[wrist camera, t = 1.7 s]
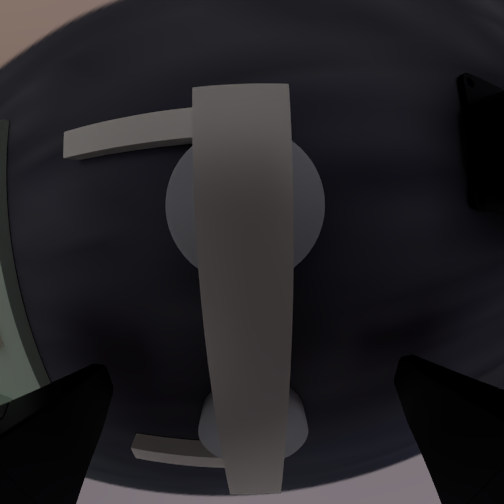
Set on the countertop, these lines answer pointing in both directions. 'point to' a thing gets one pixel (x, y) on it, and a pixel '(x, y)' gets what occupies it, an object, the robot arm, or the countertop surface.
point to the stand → (14, 310)
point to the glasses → (233, 266)
